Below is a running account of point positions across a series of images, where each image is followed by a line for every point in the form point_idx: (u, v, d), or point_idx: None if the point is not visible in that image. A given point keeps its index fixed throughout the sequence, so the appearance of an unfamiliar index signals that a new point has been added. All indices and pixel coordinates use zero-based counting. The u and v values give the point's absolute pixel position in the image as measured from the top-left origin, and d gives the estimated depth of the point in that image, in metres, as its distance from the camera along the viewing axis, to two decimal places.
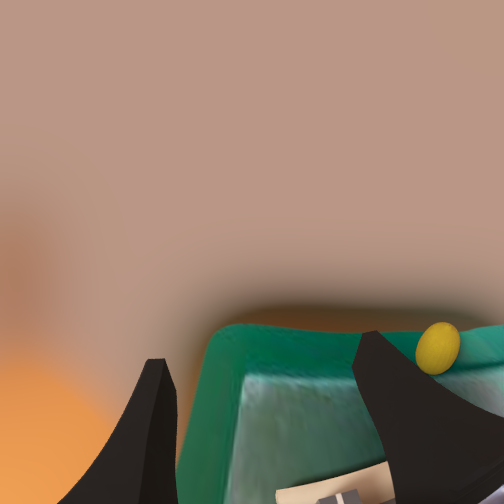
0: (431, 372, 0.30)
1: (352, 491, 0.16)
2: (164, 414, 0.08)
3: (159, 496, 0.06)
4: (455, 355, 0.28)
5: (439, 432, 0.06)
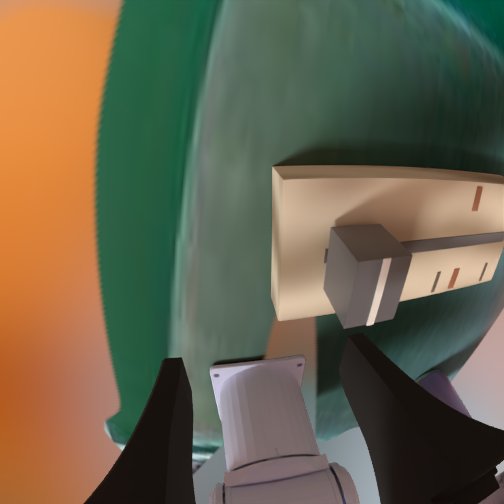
0: None
1: (405, 259, 0.13)
2: (182, 413, 0.08)
3: (181, 496, 0.06)
4: None
5: (422, 440, 0.06)
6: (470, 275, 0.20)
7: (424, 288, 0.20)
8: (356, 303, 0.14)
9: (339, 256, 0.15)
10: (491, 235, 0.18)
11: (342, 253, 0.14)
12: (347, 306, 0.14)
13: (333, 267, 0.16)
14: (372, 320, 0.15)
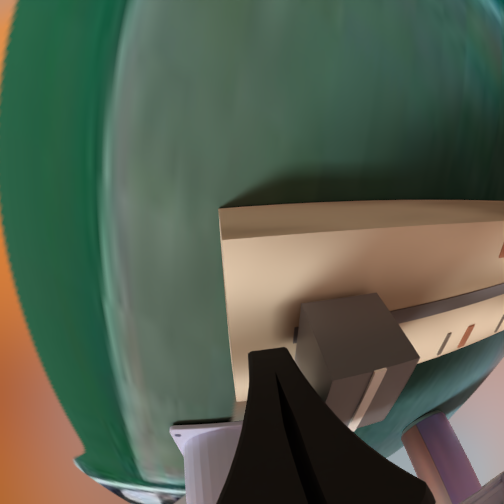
0: None
1: (409, 364, 0.08)
2: None
3: None
4: None
5: (314, 476, 0.05)
6: (485, 328, 0.15)
7: (429, 352, 0.15)
8: None
9: (309, 351, 0.10)
10: None
11: (313, 350, 0.09)
12: None
13: (304, 359, 0.11)
14: (354, 426, 0.10)
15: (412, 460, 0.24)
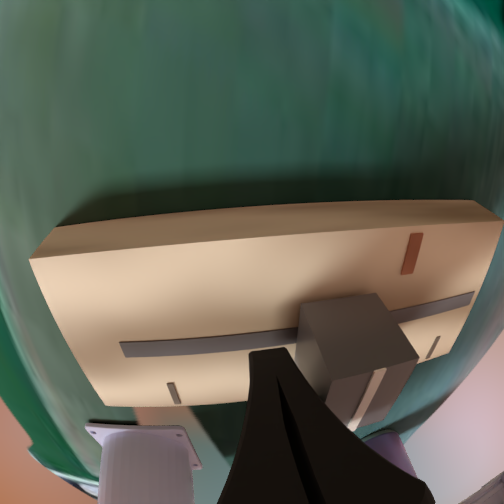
0: None
1: (408, 364, 0.08)
2: None
3: None
4: None
5: (313, 476, 0.05)
6: None
7: None
8: None
9: (309, 352, 0.10)
10: (445, 301, 0.13)
11: (313, 350, 0.09)
12: None
13: (303, 359, 0.11)
14: (354, 426, 0.10)
15: None
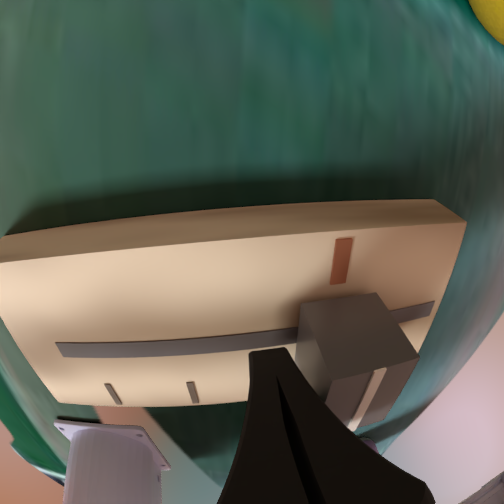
0: (491, 27, 0.06)
1: (409, 363, 0.08)
2: None
3: None
4: None
5: (313, 476, 0.05)
6: None
7: None
8: None
9: (309, 351, 0.10)
10: (396, 312, 0.12)
11: (313, 350, 0.09)
12: None
13: (303, 359, 0.11)
14: (354, 426, 0.10)
15: None
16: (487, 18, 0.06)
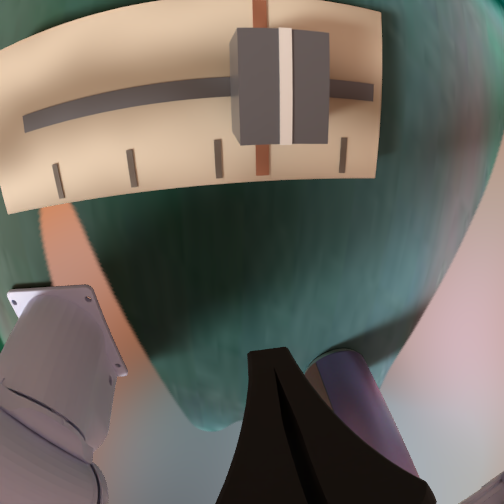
0: None
1: (318, 35, 0.08)
2: None
3: None
4: None
5: (315, 476, 0.05)
6: (309, 157, 0.14)
7: (197, 169, 0.14)
8: (251, 97, 0.09)
9: (232, 59, 0.10)
10: (331, 83, 0.12)
11: (232, 50, 0.09)
12: (238, 103, 0.09)
13: (232, 82, 0.10)
14: (289, 137, 0.10)
15: None
16: None
